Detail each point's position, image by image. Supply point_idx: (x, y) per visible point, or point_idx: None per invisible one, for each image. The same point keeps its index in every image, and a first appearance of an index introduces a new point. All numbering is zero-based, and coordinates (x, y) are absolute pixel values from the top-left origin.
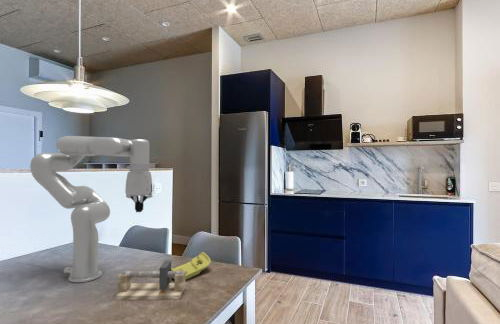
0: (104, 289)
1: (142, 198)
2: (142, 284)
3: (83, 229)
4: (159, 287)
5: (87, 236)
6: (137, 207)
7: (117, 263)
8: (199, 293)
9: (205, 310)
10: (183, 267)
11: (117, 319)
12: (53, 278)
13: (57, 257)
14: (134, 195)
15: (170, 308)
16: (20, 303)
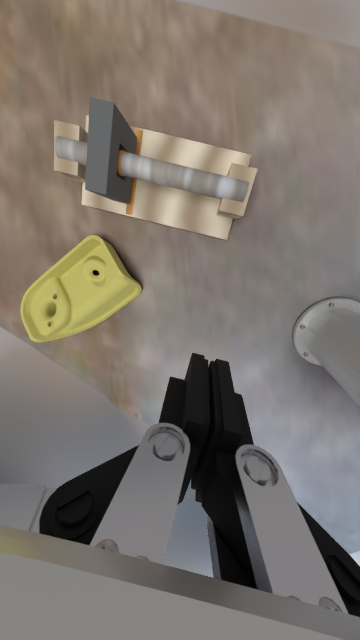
0: (280, 238)
1: (128, 486)
2: (188, 221)
3: None
4: (135, 135)
5: None
6: (216, 386)
7: (259, 399)
8: (47, 151)
9: (19, 24)
10: (91, 291)
11: (236, 15)
12: None
13: None
14: (337, 612)
15: (108, 62)
16: None
